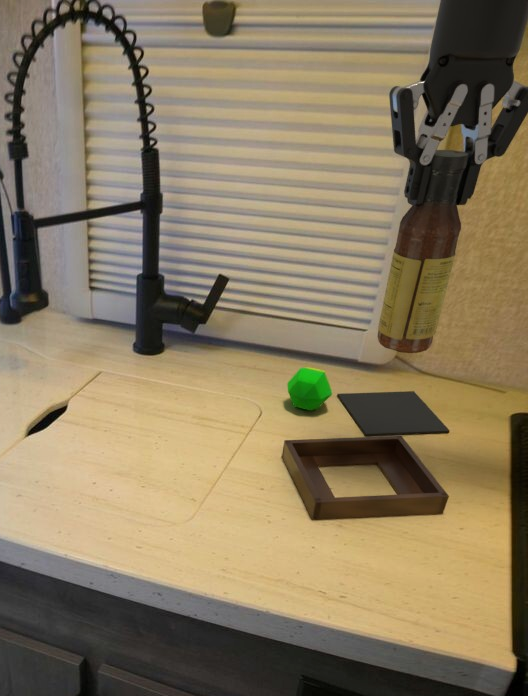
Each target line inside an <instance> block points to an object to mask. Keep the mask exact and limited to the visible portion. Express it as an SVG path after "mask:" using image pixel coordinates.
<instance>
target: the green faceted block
mask: <svg viewBox="0 0 528 696" xmlns="http://www.w3.org/2000/svg"><path fill="white" fill-rule="evenodd" d="M286 384H287V385H286V386H287V392H288V395H289V397H290V400H291V402H292V405H293V407H295V408H299V409H303V410H308V411H314V410H318V409H319V408H320V407H321V406H322V405H323V404H324V403H325V402H326V401H327V400H328V399H329V398H330V397H332V395H333V391H332V386H331V384H330V381H329V378H328V375H327V374H326V371H325V370H323V369H318V368H314V367H310V366H306V367H304V366H303V367H300V368H299V369H298V370H297V372H296V373H295V374H294V375H293V376H292V377H291V378H290V380H288V381H287V383H286Z"/></svg>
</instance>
